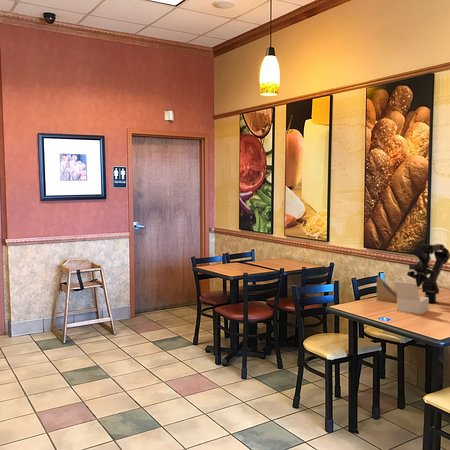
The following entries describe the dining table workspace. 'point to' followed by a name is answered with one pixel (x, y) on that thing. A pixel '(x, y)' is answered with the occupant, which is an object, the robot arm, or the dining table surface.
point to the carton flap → (407, 290)
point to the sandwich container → (385, 292)
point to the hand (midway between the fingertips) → (417, 286)
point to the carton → (413, 305)
